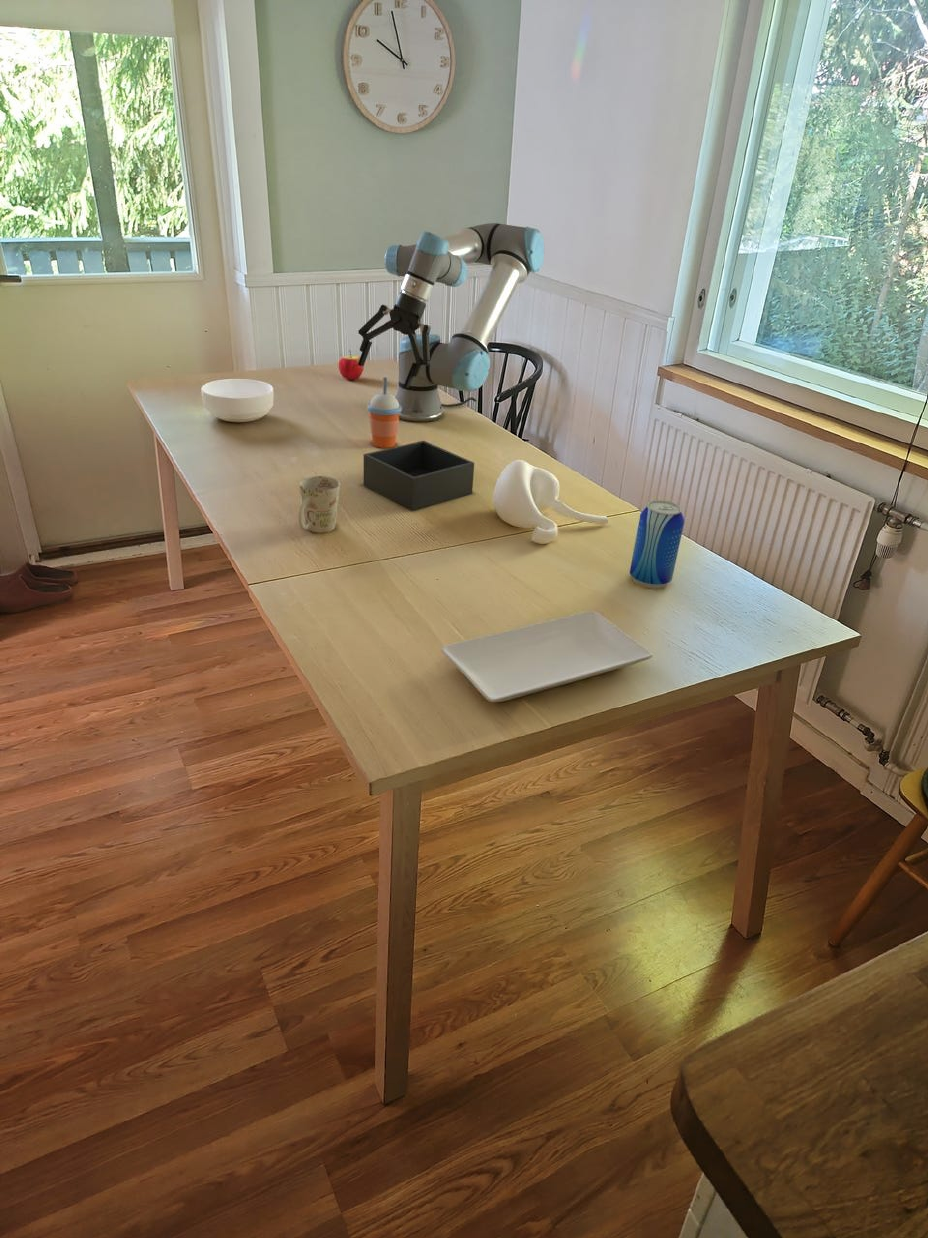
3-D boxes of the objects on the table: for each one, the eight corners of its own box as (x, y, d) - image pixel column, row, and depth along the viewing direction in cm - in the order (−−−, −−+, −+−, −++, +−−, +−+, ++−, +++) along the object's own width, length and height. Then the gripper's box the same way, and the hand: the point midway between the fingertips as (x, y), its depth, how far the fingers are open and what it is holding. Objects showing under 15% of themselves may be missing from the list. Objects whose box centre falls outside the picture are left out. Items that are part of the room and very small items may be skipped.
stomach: (515, 564, 180) (606, 559, 191) (535, 516, 171) (629, 513, 182) (475, 497, 194) (562, 495, 204) (492, 449, 185) (582, 450, 196)
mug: (347, 523, 182) (346, 480, 177) (320, 546, 172) (318, 500, 167) (312, 516, 184) (311, 473, 179) (284, 538, 174) (281, 493, 169)
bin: (422, 470, 213) (423, 440, 209) (472, 493, 202) (474, 462, 198) (363, 485, 202) (363, 454, 198) (412, 510, 190) (413, 478, 186)
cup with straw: (403, 440, 232) (405, 374, 222) (397, 451, 224) (399, 383, 215) (370, 437, 232) (371, 371, 223) (364, 448, 224) (364, 380, 215)
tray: (437, 662, 138) (438, 644, 136) (591, 624, 152) (594, 607, 150) (489, 720, 125) (491, 701, 123) (652, 672, 139) (656, 655, 137)
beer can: (662, 595, 163) (678, 519, 155) (622, 582, 166) (635, 507, 158) (676, 579, 169) (692, 505, 161) (637, 567, 173) (651, 494, 165)
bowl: (289, 417, 243) (288, 388, 238) (239, 433, 228) (237, 402, 224) (240, 403, 251) (237, 374, 247) (188, 417, 237) (185, 387, 232)
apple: (335, 380, 279) (335, 350, 274) (342, 374, 286) (342, 344, 281) (359, 383, 278) (359, 352, 273) (366, 377, 285) (366, 347, 280)
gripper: (365, 274, 211) (336, 355, 218) (453, 315, 209) (421, 396, 216) (375, 278, 218) (346, 356, 225) (460, 317, 216) (429, 395, 223)
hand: (383, 376), depth 220 cm, fingers open, 13 cm apart
